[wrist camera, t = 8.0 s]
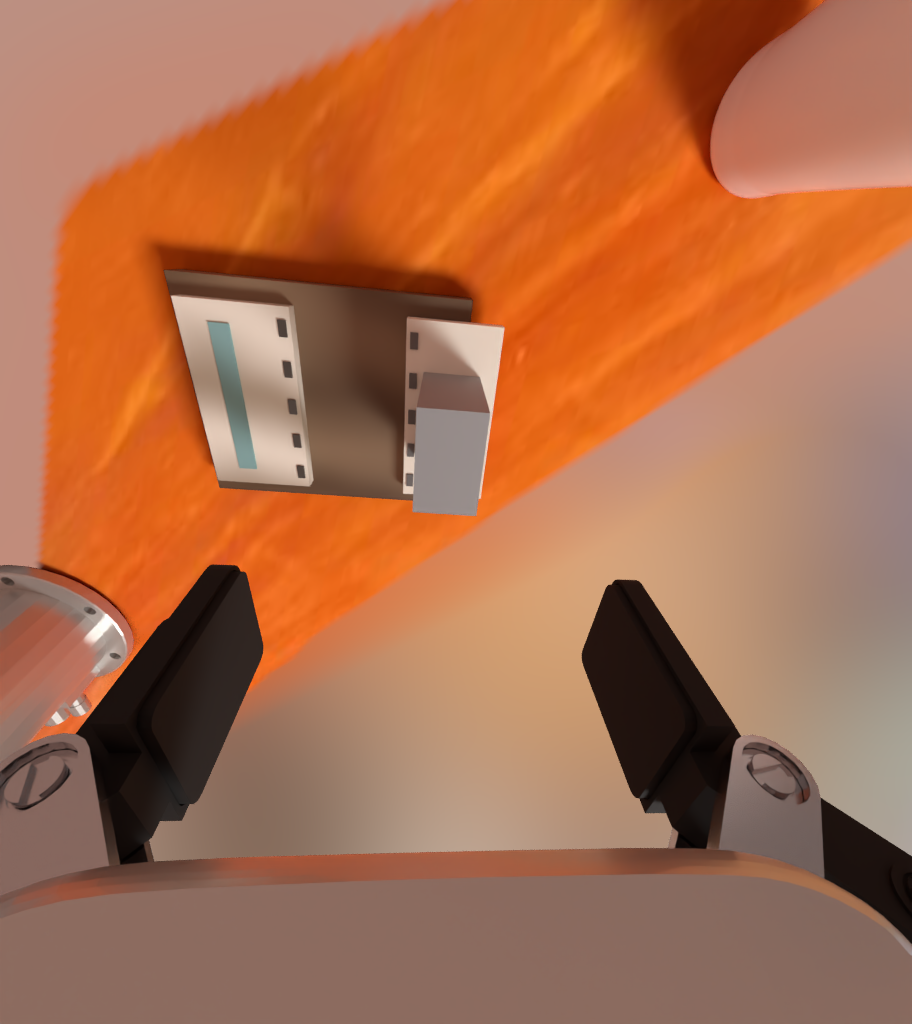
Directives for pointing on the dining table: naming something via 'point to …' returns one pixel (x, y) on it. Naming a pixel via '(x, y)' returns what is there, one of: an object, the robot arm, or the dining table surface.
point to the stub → (448, 411)
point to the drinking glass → (822, 105)
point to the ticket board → (302, 379)
